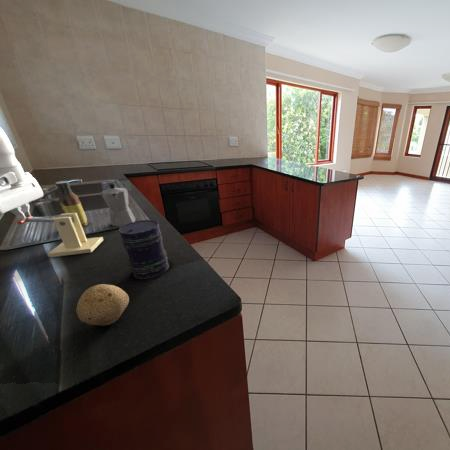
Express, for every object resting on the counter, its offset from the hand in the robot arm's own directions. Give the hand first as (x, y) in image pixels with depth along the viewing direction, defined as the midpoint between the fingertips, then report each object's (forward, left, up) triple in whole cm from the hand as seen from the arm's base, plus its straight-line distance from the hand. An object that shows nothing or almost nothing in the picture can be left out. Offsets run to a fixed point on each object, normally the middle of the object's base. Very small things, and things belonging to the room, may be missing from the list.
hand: (25, 218), depth 78 cm
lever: (+5, 0, -3) cm, 6 cm away
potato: (+36, -44, -13) cm, 58 cm away
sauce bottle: (+1, +24, -13) cm, 27 cm away
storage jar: (+40, -23, -13) cm, 48 cm away
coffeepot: (+18, +24, -13) cm, 33 cm away
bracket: (+11, 0, -13) cm, 17 cm away
